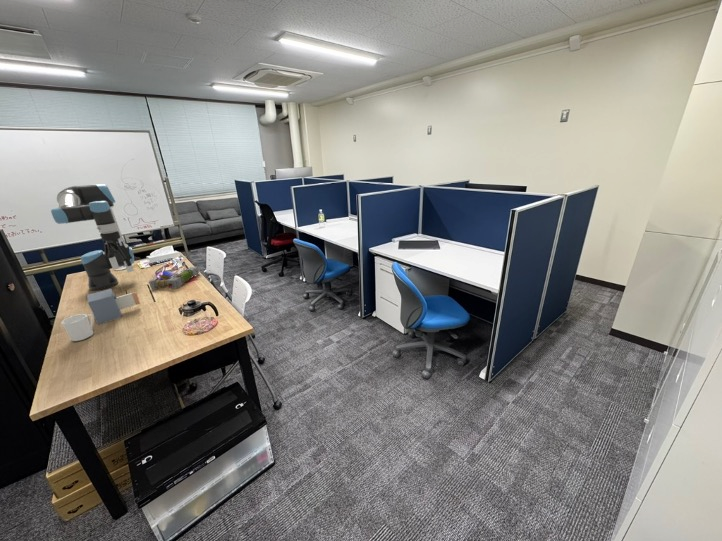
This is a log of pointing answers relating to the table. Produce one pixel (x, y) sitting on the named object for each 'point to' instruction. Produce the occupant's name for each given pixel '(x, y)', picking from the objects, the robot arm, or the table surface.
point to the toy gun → (174, 279)
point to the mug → (78, 327)
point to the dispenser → (104, 306)
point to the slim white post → (127, 300)
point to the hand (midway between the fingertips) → (123, 270)
